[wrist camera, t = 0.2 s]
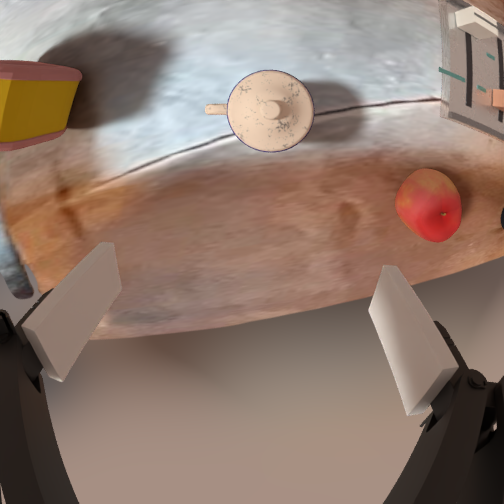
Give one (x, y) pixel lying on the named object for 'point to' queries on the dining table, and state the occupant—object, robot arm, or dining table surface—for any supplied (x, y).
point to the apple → (429, 205)
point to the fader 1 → (476, 23)
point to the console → (470, 74)
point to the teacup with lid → (268, 111)
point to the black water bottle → (502, 218)
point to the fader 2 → (498, 99)
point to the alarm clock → (34, 102)
